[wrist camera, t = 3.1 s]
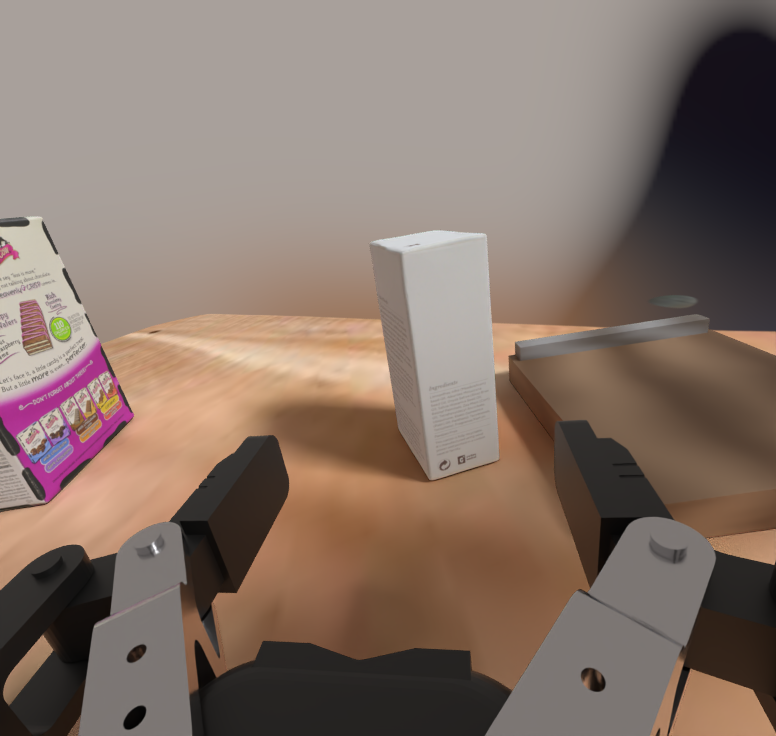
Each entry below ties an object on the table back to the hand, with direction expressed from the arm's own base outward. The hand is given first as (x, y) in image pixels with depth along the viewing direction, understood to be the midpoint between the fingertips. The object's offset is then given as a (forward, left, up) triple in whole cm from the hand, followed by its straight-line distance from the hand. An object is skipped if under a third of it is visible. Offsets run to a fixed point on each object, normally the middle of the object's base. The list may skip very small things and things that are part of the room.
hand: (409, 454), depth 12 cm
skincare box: (-2, -11, -7) cm, 13 cm away
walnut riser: (-15, -10, -7) cm, 19 cm away
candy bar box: (+25, -16, -7) cm, 31 cm away
